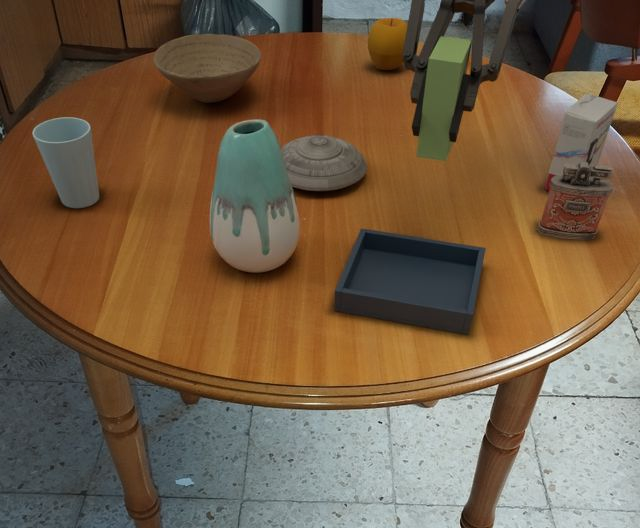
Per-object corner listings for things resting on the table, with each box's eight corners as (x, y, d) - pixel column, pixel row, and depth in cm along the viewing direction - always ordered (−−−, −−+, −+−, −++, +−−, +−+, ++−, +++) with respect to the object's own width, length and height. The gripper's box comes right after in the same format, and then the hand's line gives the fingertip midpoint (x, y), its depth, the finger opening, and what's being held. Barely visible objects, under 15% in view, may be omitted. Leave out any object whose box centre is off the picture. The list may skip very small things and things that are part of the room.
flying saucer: (289, 145, 112) (288, 111, 108) (377, 159, 109) (379, 125, 105) (256, 189, 103) (254, 154, 98) (351, 206, 100) (353, 171, 95)
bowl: (223, 130, 115) (218, 81, 109) (139, 106, 121) (130, 58, 115) (281, 91, 126) (280, 45, 120) (201, 71, 132) (196, 25, 126)
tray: (481, 267, 90) (485, 247, 87) (468, 335, 81) (473, 314, 78) (359, 247, 92) (360, 228, 90) (334, 310, 83) (334, 290, 81)
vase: (197, 252, 91) (178, 119, 78) (268, 224, 96) (261, 94, 83) (244, 295, 85) (232, 159, 72) (317, 262, 90) (318, 129, 77)
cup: (104, 182, 103) (87, 113, 96) (110, 208, 99) (92, 138, 91) (53, 189, 102) (31, 120, 94) (56, 216, 97) (33, 146, 89)
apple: (387, 81, 130) (391, 30, 123) (356, 67, 134) (358, 18, 127) (417, 69, 134) (422, 19, 127) (386, 56, 138) (390, 8, 131)
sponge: (455, 135, 84) (472, 39, 76) (445, 161, 80) (462, 62, 72) (427, 131, 85) (440, 35, 77) (416, 156, 80) (428, 58, 72)
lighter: (537, 235, 95) (557, 168, 87) (537, 222, 97) (555, 155, 90) (596, 241, 94) (621, 174, 87) (594, 228, 96) (618, 161, 89)
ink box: (572, 200, 101) (597, 121, 93) (542, 189, 103) (563, 111, 94) (594, 177, 106) (620, 100, 97) (565, 167, 108) (587, 91, 99)
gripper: (555, -47, 78) (504, 157, 80) (413, -61, 81) (368, 135, 83) (564, -94, 70) (509, 132, 72) (408, -107, 74) (359, 110, 75)
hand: (434, 134), depth 78 cm, fingers closed on sponge, 4 cm apart
